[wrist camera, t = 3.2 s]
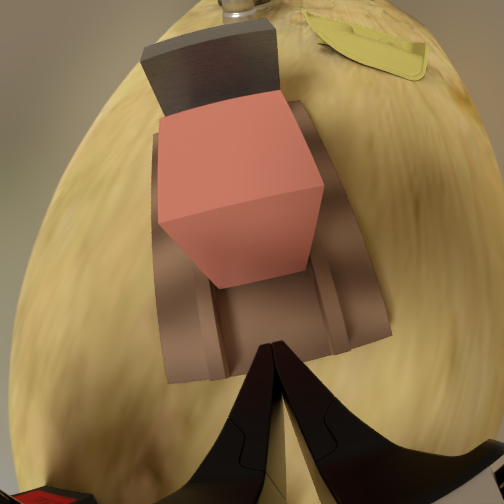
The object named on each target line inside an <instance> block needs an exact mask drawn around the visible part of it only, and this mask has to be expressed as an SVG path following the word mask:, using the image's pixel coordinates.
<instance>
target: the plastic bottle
mask: <svg viewBox="0 0 504 504" xmlns="http://www.w3.org/2000/svg"><path fill="white" fill-rule="evenodd" d="M222 7H223V15H222V16H223V23H224V25H226V24H232V23H237V22H243V21H250V20H257V19H258V14H257V11H256V8H255V6H254V2H253V0H222Z"/></svg>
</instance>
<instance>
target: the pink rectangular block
mask: <svg viewBox="0 0 504 504" xmlns="http://www.w3.org/2000/svg"><path fill="white" fill-rule="evenodd" d="M323 190H324V183H323V180H322V178H321V176H320V173H319V171H318V168H317V166H316V164H315V161H314V159H313V157H312V154H311V152H310V150H309V148H308V145H307V143H306V141H305V139H304V137H303V134H302V132H301V130H300V128H299V126H298V124H297V122H296V120H295V118H294V115H293V113H292V111H291V109H290V107H289V105H288V103H287V101H286V99H285V97H284V95H283V94H282V92H281V90H277V91H271V92H264V93H259V94H253V95H248V96H243V97H238V98H233V99H229V100H224V101H220V102H216V103H212V104H208V105H204V106H200V107H197V108H193V109H190V110H186V111H183V112H179V113H176V114H173V115H170V116H167V117H164V118H161V119H160V121H159V140H158V224H159V225H160V226H161V227H162V228H163V229H164V231H165V232H166V233H167V234H168V235H169V236H170V237H171V238H172V239H173V241H174V242H175V243H176V244H177V245H178V246H179V247H180V248H181V249H182V250H183V252H184V253H185V254H186V255H187V256H188V257H189V258H190V259H191V260H192V261H193V262H194V263H195V264H196V266H197V267H198V268H199V269H200V270H201V271H202V272H203V273H204V274H205V275H206V276H207V277H208V278H209V279H210V280H211V281H212V282H213V283H214V284H215V286H216V287H217V288H218V289H219V290H220V289H224V288H229V287H234V286H238V285H243V284H248V283H252V282H257V281H261V280H266V279H270V278H275V277H279V276H284V275H288V274H292V273H297V272H301V271H305V270H306V266H307V262H308V258H309V253H310V249H311V245H312V241H313V236H314V232H315V228H316V223H317V219H318V214H319V209H320V205H321V200H322V195H323Z"/></svg>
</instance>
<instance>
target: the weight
mask: <svg viewBox="0 0 504 504" xmlns="http://www.w3.org/2000/svg"><path fill="white" fill-rule="evenodd" d="M268 1H270V0H253V2H254V6H255V5H258V4H261V3H265V2H268ZM218 3H219V5H220V6H222V0H218Z"/></svg>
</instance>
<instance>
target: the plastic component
mask: <svg viewBox="0 0 504 504" xmlns="http://www.w3.org/2000/svg"><path fill="white" fill-rule="evenodd" d="M300 9H301V11H302V13H303V16H304V18H305V20H306V21H307V22H308V24H309V25H310V26H311V28H312V29H313V30H314V31H315V32H316V33H317V43H321V44H326V45H330V46H331V47H332V48H334V49H335V50H337V51H338V52H340V53H341V54H343V55H345V56H346V57H348V58H350V59H352V60H355V61H357V62H359V63H362V64H364V65H368V66H371V67H374V68H377V69H380V70H383V71H386V72H389V73H392V74H395V75H398V76H401V77H403V78H406V79H408V80H414V81H415V80H419V79H421V78H422V77H423V76H424V75H425V72H426V67H427V60H428V53H429V46H428V44H426V43H413V42H409V41H406V40H403V39H400V38H397V37H395V36H392V35H389V34H386V33H383V32H380V31H377V30H374V29H370V28H367V27H363V26H360V25H356V24H352V23H348V22H344V21H339V20H335V19H331V18H326V17H321V16H317V15H313V14H310V13H307V12H306V11H305V9H303V8H300Z"/></svg>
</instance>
